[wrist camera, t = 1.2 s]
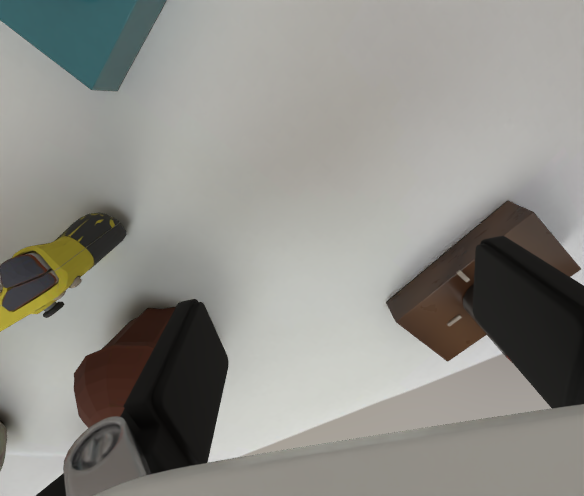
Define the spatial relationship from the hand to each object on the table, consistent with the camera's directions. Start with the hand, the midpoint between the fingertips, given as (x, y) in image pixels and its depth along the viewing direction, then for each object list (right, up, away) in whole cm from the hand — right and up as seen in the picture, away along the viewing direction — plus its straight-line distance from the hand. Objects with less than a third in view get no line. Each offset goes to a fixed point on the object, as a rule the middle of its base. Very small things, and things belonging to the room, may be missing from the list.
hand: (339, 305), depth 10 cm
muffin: (-14, -8, +22) cm, 27 cm away
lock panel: (+15, -1, +19) cm, 25 cm away
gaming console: (-26, -1, +18) cm, 32 cm away
